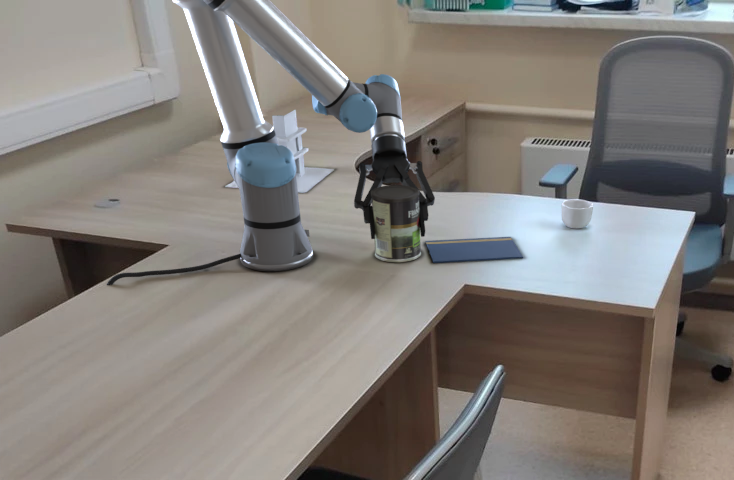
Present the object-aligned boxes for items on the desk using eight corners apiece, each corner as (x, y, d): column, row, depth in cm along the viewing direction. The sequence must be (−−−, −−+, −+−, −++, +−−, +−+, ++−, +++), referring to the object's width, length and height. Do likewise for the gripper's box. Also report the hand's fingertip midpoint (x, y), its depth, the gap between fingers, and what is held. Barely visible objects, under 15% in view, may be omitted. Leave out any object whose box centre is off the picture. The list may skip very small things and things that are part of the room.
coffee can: (426, 248, 190) (425, 186, 183) (413, 264, 181) (411, 200, 174) (383, 244, 191) (379, 182, 184) (367, 260, 183) (363, 196, 176)
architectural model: (335, 169, 244) (330, 104, 235) (305, 192, 223) (298, 123, 214) (260, 163, 247) (252, 100, 238) (224, 187, 226) (214, 118, 217)
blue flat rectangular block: (433, 263, 182) (433, 261, 182) (425, 242, 193) (425, 240, 193) (523, 258, 186) (523, 256, 186) (510, 238, 197) (510, 236, 197)
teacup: (592, 231, 202) (594, 209, 200) (560, 230, 202) (561, 208, 200) (589, 218, 211) (591, 197, 208) (559, 217, 211) (560, 196, 208)
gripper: (437, 150, 192) (448, 239, 187) (336, 153, 188) (345, 245, 182) (440, 132, 185) (452, 224, 180) (335, 134, 180) (344, 229, 175)
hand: (398, 235), depth 181 cm, fingers closed on coffee can, 10 cm apart
